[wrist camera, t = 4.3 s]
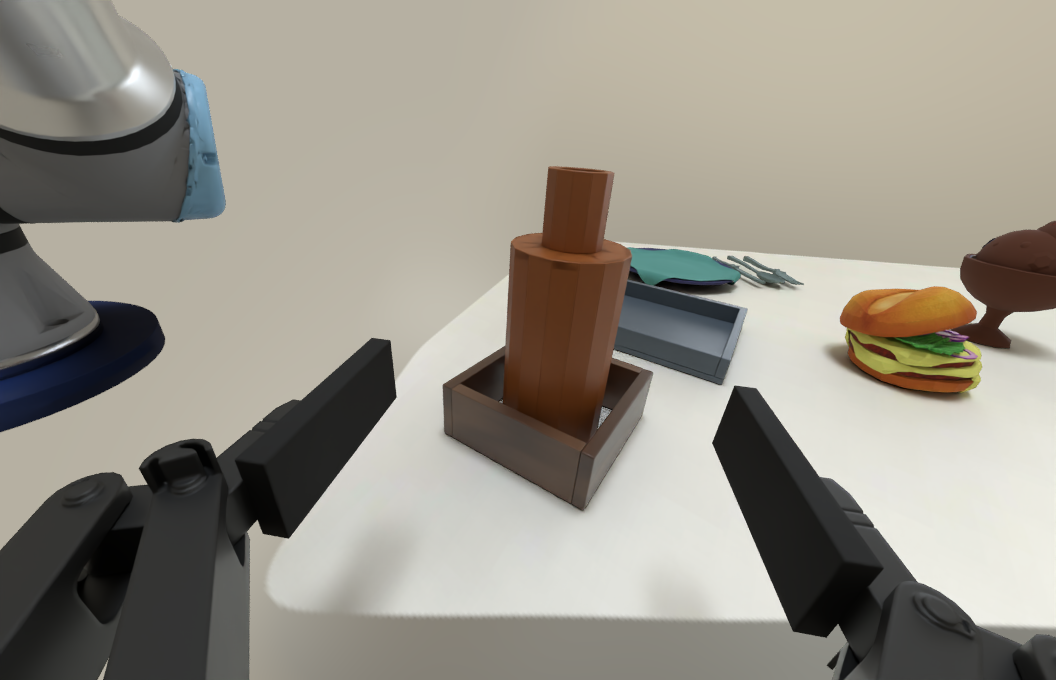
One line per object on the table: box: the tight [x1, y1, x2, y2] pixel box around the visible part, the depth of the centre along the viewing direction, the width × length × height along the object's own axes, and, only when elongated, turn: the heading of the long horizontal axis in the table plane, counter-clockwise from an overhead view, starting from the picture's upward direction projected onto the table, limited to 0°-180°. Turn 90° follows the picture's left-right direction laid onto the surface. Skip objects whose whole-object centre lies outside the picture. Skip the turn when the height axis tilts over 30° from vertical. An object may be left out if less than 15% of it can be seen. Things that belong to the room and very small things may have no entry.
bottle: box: [503, 166, 632, 445], centre depth 24 cm, size 7×7×17 cm
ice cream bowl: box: [951, 221, 1056, 348], centre depth 45 cm, size 11×11×15 cm
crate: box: [443, 346, 653, 510], centre depth 27 cm, size 11×11×4 cm
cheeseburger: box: [840, 286, 982, 393], centre depth 37 cm, size 10×11×10 cm
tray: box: [614, 280, 748, 385], centre depth 44 cm, size 20×16×3 cm
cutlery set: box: [628, 247, 804, 285], centre depth 65 cm, size 20×30×2 cm, turn 97°
